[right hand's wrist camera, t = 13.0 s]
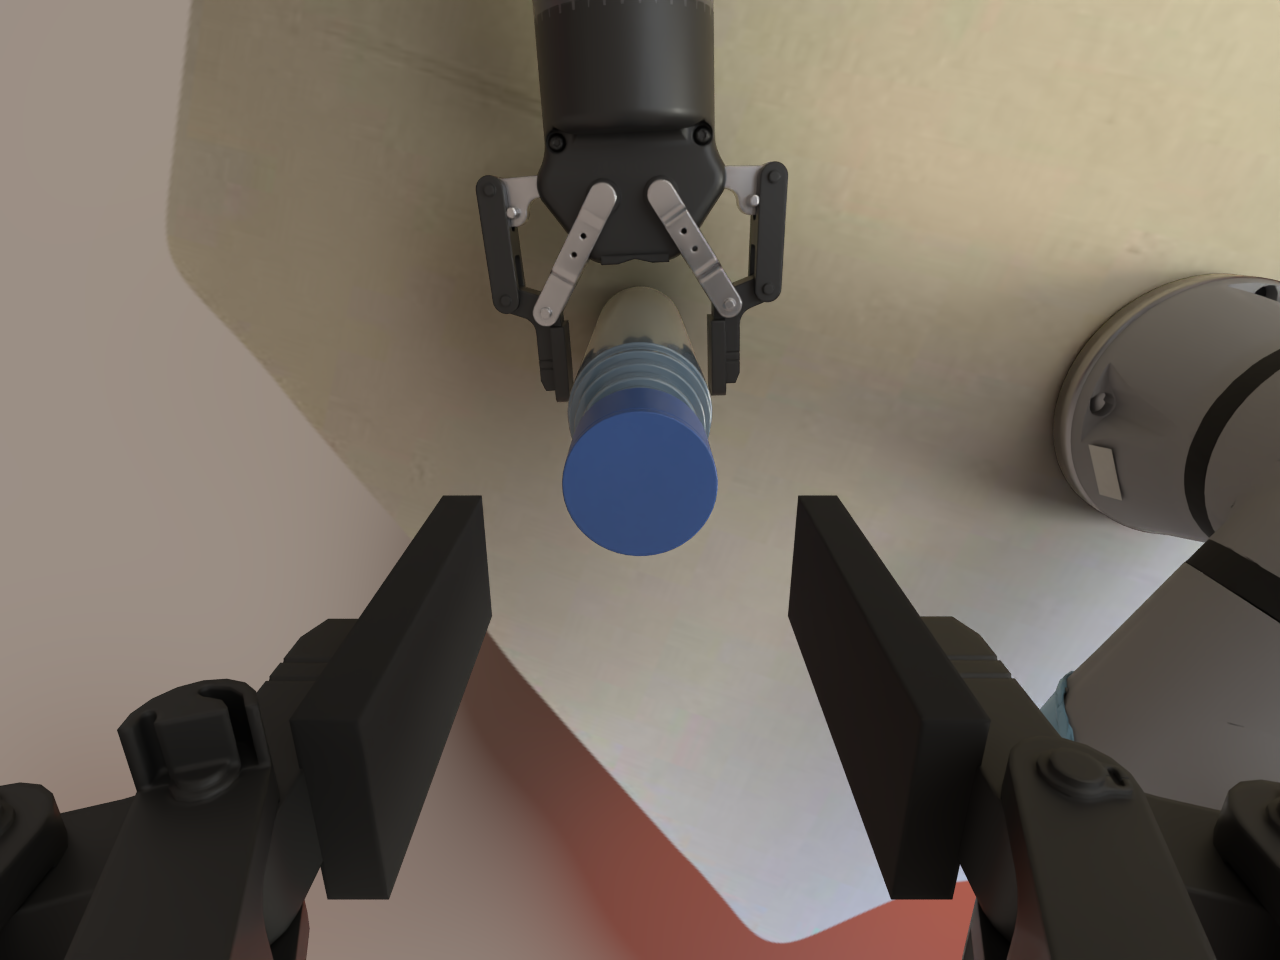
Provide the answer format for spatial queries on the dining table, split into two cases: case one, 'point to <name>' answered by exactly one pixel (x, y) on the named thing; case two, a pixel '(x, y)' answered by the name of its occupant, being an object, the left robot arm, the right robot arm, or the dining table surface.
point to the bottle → (640, 355)
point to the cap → (640, 473)
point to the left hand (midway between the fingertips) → (641, 394)
